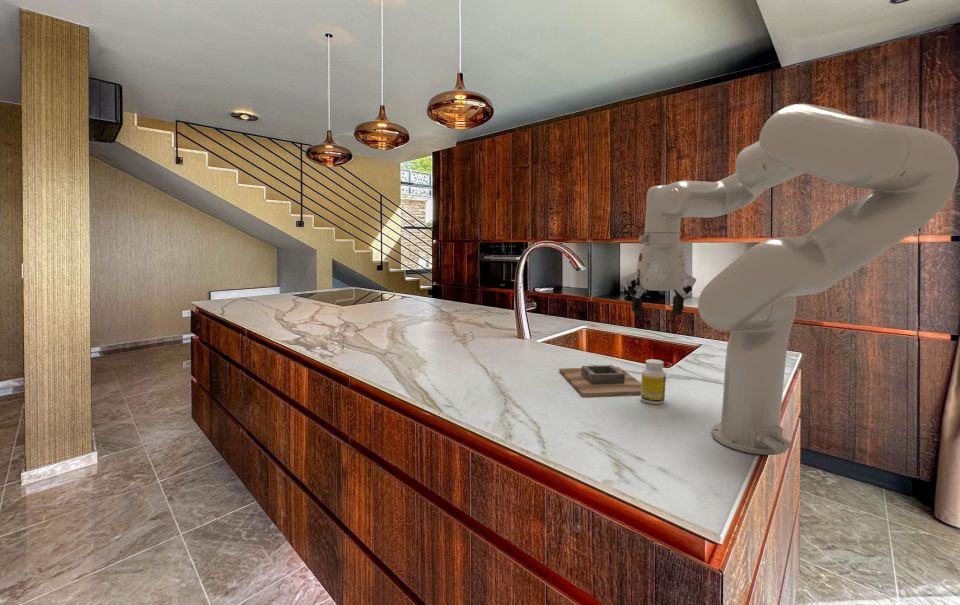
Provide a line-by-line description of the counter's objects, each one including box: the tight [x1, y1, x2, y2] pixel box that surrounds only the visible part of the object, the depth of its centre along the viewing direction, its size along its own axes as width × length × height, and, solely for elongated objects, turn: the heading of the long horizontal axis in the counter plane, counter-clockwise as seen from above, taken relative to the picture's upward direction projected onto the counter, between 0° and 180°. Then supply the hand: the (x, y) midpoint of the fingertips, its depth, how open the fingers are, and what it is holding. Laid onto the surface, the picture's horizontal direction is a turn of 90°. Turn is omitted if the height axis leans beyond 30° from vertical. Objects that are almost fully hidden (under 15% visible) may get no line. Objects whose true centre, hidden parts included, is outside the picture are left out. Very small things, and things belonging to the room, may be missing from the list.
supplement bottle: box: [640, 358, 667, 405], centre depth 108 cm, size 5×5×10 cm
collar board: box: [558, 364, 641, 398], centre depth 122 cm, size 22×18×4 cm
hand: (657, 313), depth 106 cm, fingers open, 9 cm apart
